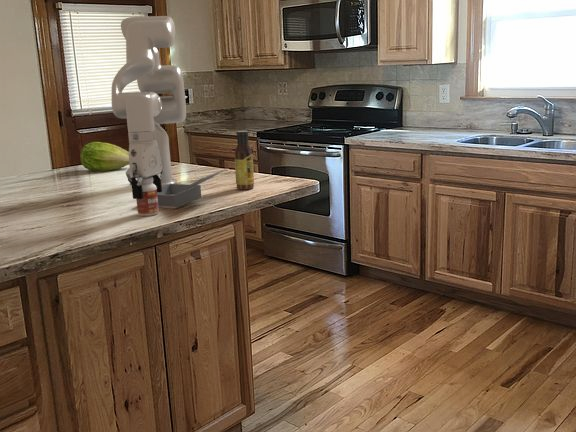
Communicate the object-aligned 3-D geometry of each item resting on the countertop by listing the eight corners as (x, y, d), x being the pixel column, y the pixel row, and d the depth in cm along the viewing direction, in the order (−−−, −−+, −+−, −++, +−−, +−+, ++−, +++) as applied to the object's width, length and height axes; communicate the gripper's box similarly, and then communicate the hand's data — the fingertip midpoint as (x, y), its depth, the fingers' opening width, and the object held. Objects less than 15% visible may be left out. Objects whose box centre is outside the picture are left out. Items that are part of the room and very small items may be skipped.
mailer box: (142, 206, 194) (141, 193, 193) (170, 195, 209) (169, 183, 208) (175, 208, 190) (174, 195, 189) (201, 196, 204) (200, 184, 203)
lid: (202, 177, 184) (203, 178, 184) (227, 167, 198) (227, 169, 198) (174, 192, 189) (174, 193, 189) (199, 182, 203) (200, 183, 203)
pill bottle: (151, 217, 180) (147, 179, 178) (133, 216, 183) (129, 179, 180) (163, 212, 186) (159, 175, 183) (145, 210, 188) (142, 175, 185)
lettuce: (134, 157, 254) (135, 136, 264) (78, 155, 250) (81, 133, 259) (134, 180, 264) (135, 159, 273) (80, 178, 259) (83, 157, 268)
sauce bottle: (251, 190, 211) (248, 132, 206) (234, 190, 212) (230, 132, 207) (256, 186, 217) (253, 129, 212) (239, 186, 218) (235, 130, 213)
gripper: (135, 141, 169) (141, 202, 173) (169, 133, 185) (174, 189, 189) (112, 140, 172) (119, 201, 176) (148, 133, 187) (153, 189, 191)
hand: (147, 195), depth 182 cm, fingers open, 9 cm apart
